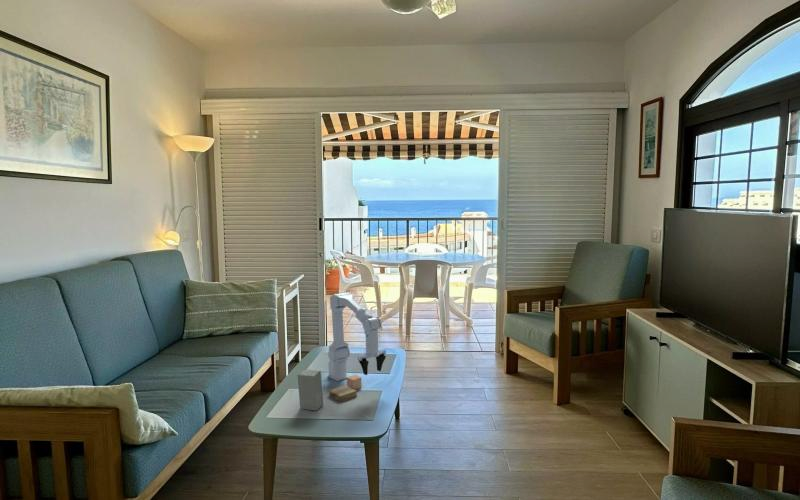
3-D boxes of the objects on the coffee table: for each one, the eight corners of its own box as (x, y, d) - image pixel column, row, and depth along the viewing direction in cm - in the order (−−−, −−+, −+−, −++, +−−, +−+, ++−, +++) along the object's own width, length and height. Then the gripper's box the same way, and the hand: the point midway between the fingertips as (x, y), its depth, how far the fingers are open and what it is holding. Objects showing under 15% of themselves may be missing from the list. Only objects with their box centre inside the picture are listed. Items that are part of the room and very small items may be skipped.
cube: (346, 387, 221) (346, 377, 220) (355, 384, 224) (355, 374, 223) (353, 390, 217) (352, 380, 216) (361, 387, 220) (361, 377, 220)
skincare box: (323, 405, 200) (322, 370, 199) (315, 412, 194) (314, 375, 192) (306, 402, 203) (305, 367, 202) (298, 409, 196) (296, 373, 195)
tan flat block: (329, 396, 210) (329, 390, 210) (345, 391, 216) (345, 385, 216) (340, 402, 204) (340, 396, 203) (356, 397, 210) (356, 390, 209)
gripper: (363, 348, 203) (364, 378, 204) (389, 342, 212) (390, 371, 213) (354, 345, 209) (355, 374, 210) (380, 339, 217) (381, 367, 219)
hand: (372, 372), depth 212 cm, fingers open, 7 cm apart
